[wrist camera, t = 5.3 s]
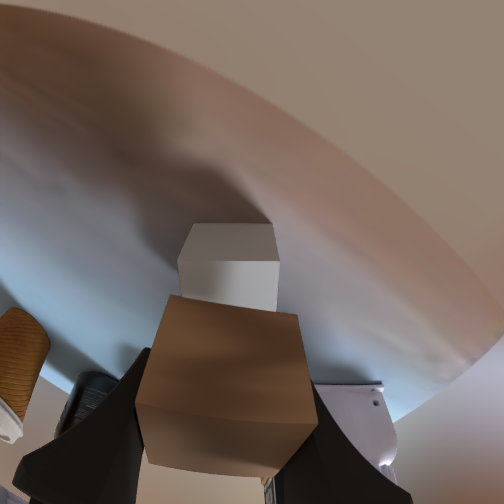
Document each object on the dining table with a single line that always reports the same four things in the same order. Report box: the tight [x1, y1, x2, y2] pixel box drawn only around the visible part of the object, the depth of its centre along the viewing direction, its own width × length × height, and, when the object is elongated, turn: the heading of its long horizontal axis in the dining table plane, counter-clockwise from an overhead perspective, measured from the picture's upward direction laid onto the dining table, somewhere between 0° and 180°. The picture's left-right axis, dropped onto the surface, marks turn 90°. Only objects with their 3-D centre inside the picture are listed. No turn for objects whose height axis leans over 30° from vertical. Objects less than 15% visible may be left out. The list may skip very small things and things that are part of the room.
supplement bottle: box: [54, 372, 118, 439], centre depth 22 cm, size 7×7×12 cm
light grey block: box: [177, 223, 280, 312], centre depth 18 cm, size 5×5×5 cm
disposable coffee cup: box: [0, 308, 50, 444], centre depth 18 cm, size 10×10×12 cm
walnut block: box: [135, 295, 318, 478], centre depth 10 cm, size 5×5×5 cm
